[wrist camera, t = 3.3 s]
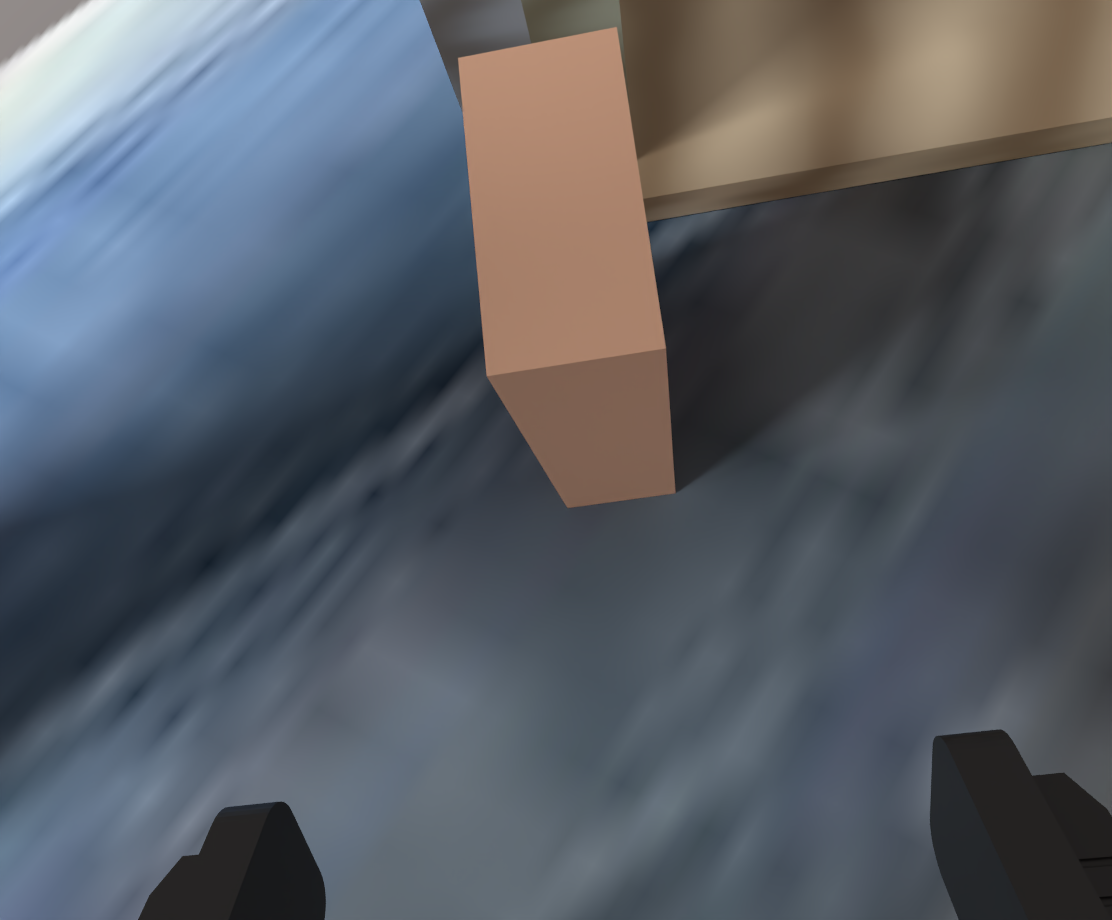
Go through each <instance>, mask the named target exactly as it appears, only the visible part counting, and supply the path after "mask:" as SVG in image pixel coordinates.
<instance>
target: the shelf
mask: <svg viewBox="0 0 1112 920" xmlns="http://www.w3.org/2000/svg"><path fill="white" fill-rule="evenodd" d="M420 2H421V5H422V8H423V10H424V13H425V15H426V18H427V21H428V23H429V26H430V28H431V31H432V34H433V36H434V39H435V42H436V44H437V47H438V49H439V52H440V55H441V57H442V60H443V63H444V65H445V68H446V70H447V73H448V76H449V78H450V81H451V84H452V86H453V89H454V91H455V94H456V97H457V99H458V102H459V105H460V107H461V110H462V112H463V108H462V97H461V86H460V75H459V64H458V58H461V57H466V56H471V55H476V54H481V53H486V52H491V51H496V50H501V49H506V48H512V47H517V46H522V45H527V44H532V43H537V42H542V41H547V40H552V39H558V38H563V37H568V36H573V35H578V34H583V33H588V32H593V31H598V30H603V29H609V28H614V27H617V32H618V38H619V45H620V51H621V58H622V64H623V71H624V77H625V84H626V90H627V97H628V103H629V110H630V116H631V123H632V130H633V136H634V143H635V149H636V156H637V162H638V169H639V175H640V182H641V188H642V195H643V201H644V208H645V214H646V221H647V222H650V221H655V220H661V219H667V218H673V217H679V216H685V215H690V214H696V213H702V212H708V211H714V210H720V209H726V208H731V207H737V206H743V205H749V204H755V203H761V202H766V201H772V200H778V199H784V198H790V197H796V196H802V195H807V194H813V193H819V192H825V191H831V190H837V189H842V188H848V187H854V186H860V185H866V184H872V183H878V182H883V181H889V180H895V179H901V178H907V177H913V176H918V175H924V174H930V173H936V172H942V171H948V170H954V169H959V168H965V167H971V166H977V165H983V164H989V163H994V162H1000V161H1006V160H1012V159H1018V158H1024V157H1030V156H1035V155H1041V154H1047V153H1053V152H1059V151H1065V150H1070V149H1076V148H1082V147H1088V146H1094V145H1100V144H1106V143H1111V142H1112V0H420Z"/></svg>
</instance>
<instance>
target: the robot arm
mask: <svg viewBox="0 0 1112 920" xmlns="http://www.w3.org/2000/svg"><path fill="white" fill-rule="evenodd" d="M930 828H931V836H932V842H933V847H934V851H935V855H936V859H937V863H938V866H939V869H940V872H941V875H942V878H943V881H944V883H945V886H946V888H947V891H948V893H949V896H950V898H951V901H952V903H953V906H954V909H955V911H956V914H957V916H958V919H959V920H1112V816H1111V815H1110V813H1109V812H1108V810H1107V809H1106V808H1105V807H1104V806H1103V805H1101V804H1100V803H1099V802H1098V801H1097V800H1096V799H1094V798H1093V797H1092V796H1091V795H1090V794H1088V793H1087V792H1086V791H1085V790H1084V789H1083V788H1081V787H1080V786H1079V785H1078V784H1077V783H1075V782H1074V781H1073V780H1072V779H1071V778H1070V777H1068V776H1067V775H1066V774H1065V773H1056V774H1046V775H1036V776H1032V775H1031V773H1030V771H1029V769H1028V768H1027V766H1026V764H1025V762H1024V760H1023V759H1022V757H1021V755H1020V753H1019V751H1018V750H1017V748H1016V746H1015V744H1014V743H1013V741H1012V739H1011V738H1010V737H1009V735H1008V734H1007V733H1006V732H1005V731H1003V730H990V731H981V732H971V733H961V734H952V735H942V736H936V737H935V739H934V741H933V752H932V779H931V806H930ZM325 907H326V897H325V887H324V882H323V878H322V875H321V872H320V870H319V868H318V866H317V864H316V862H315V860H314V857H313V855H312V853H311V851H310V849H309V847H308V845H307V843H306V840H305V838H304V836H303V834H302V832H301V830H300V828H299V826H298V823H297V821H296V819H295V817H294V815H293V813H292V811H291V809H290V807H289V806H288V805H287V804H286V803H284V802H272V803H262V804H253V805H243V806H234V807H226V808H224V809H222V810H221V811H220V812H219V813H218V815H217V816H216V817H215V819H214V821H213V823H212V826H211V828H210V830H209V832H208V835H207V837H206V839H205V842H204V844H203V846H202V849H201V851H200V853H199V855H191V856H182V857H181V859H180V860H179V861H178V862H177V863H176V865H175V866H174V867H173V868H172V869H171V871H170V872H169V873H168V874H167V875H166V876H165V878H164V879H163V880H162V881H161V882H160V884H159V885H158V886H157V887H156V888H155V890H154V891H153V892H152V893H151V894H150V895H149V898H148V900H147V902H146V904H145V906H144V908H143V910H142V913H141V915H140V917H139V919H138V920H324V919H325Z"/></svg>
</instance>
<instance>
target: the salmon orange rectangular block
mask: <svg viewBox="0 0 1112 920" xmlns="http://www.w3.org/2000/svg"><path fill="white" fill-rule="evenodd" d="M458 64H459V75H460V86H461V97H462V108H463V119H464V130H465V141H466V152H467V164H468V175H469V186H470V197H471V208H472V219H473V230H474V241H475V252H476V263H477V274H478V285H479V297H480V308H481V319H482V330H483V341H484V352H485V363H486V374H487V378H488V379H489V381H490V382H491V384H492V386H493V387H494V389H495V391H496V392H497V394H498V395H499V397H500V399H501V400H502V402H503V404H504V405H505V407H506V409H507V410H508V412H509V413H510V415H511V417H512V418H513V420H514V422H515V423H516V425H517V427H518V428H519V430H520V431H521V433H522V435H523V436H524V438H525V440H526V441H527V443H528V444H529V446H530V448H531V449H532V451H533V453H534V454H535V456H536V458H537V459H538V461H539V462H540V464H541V466H542V467H543V469H544V471H545V472H546V474H547V475H548V477H549V479H550V480H551V482H552V484H553V485H554V487H555V489H556V490H557V492H558V493H559V495H560V497H561V498H562V500H563V502H564V503H565V505H566V506H567V508H572V507H579V506H586V505H594V504H601V503H608V502H616V501H623V500H630V499H637V498H645V497H652V496H659V495H667V494H674V493H675V478H674V463H673V448H672V432H671V417H670V402H669V386H668V371H667V356H666V345H665V339H664V332H663V325H662V319H661V312H660V306H659V299H658V293H657V286H656V280H655V273H654V267H653V260H652V254H651V247H650V241H649V234H648V228H647V221H646V214H645V208H644V201H643V195H642V188H641V182H640V175H639V169H638V162H637V156H636V149H635V143H634V136H633V130H632V123H631V116H630V110H629V103H628V97H627V90H626V84H625V77H624V71H623V64H622V58H621V51H620V45H619V38H618V32H617V27H614V28H609V29H603V30H598V31H593V32H588V33H583V34H578V35H573V36H568V37H563V38H558V39H552V40H547V41H542V42H537V43H532V44H527V45H522V46H517V47H512V48H506V49H501V50H496V51H491V52H486V53H481V54H476V55H471V56H466V57H461V58H458Z"/></svg>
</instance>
